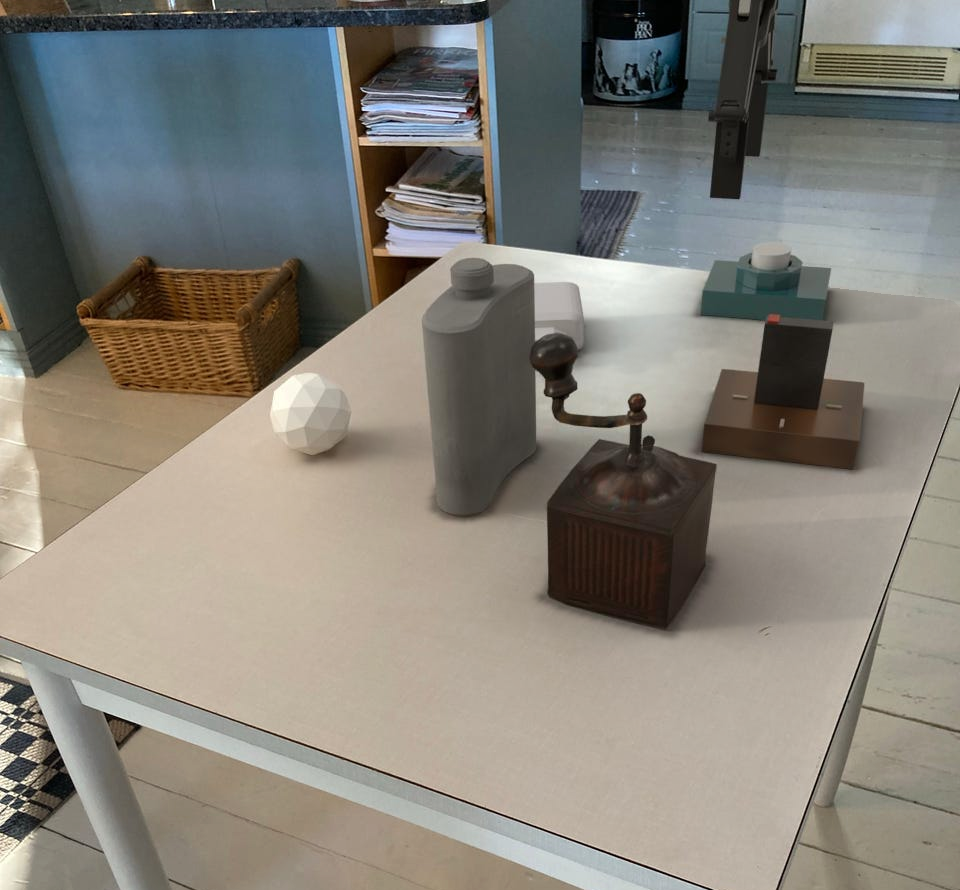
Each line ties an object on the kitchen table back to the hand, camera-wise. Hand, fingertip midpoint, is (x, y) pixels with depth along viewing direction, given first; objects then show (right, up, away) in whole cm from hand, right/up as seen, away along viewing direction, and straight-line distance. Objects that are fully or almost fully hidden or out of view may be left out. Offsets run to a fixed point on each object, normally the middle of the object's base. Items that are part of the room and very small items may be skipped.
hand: (736, 175), depth 100 cm
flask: (-24, -29, -2) cm, 38 cm away
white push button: (+10, -1, +22) cm, 24 cm away
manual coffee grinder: (-15, -39, -14) cm, 44 cm away
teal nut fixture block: (+10, -4, +25) cm, 27 cm away
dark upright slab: (+5, -22, 0) cm, 23 cm away
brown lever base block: (+5, -24, +2) cm, 25 cm away
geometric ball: (-41, -26, +3) cm, 49 cm away
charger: (-18, -12, +18) cm, 28 cm away
